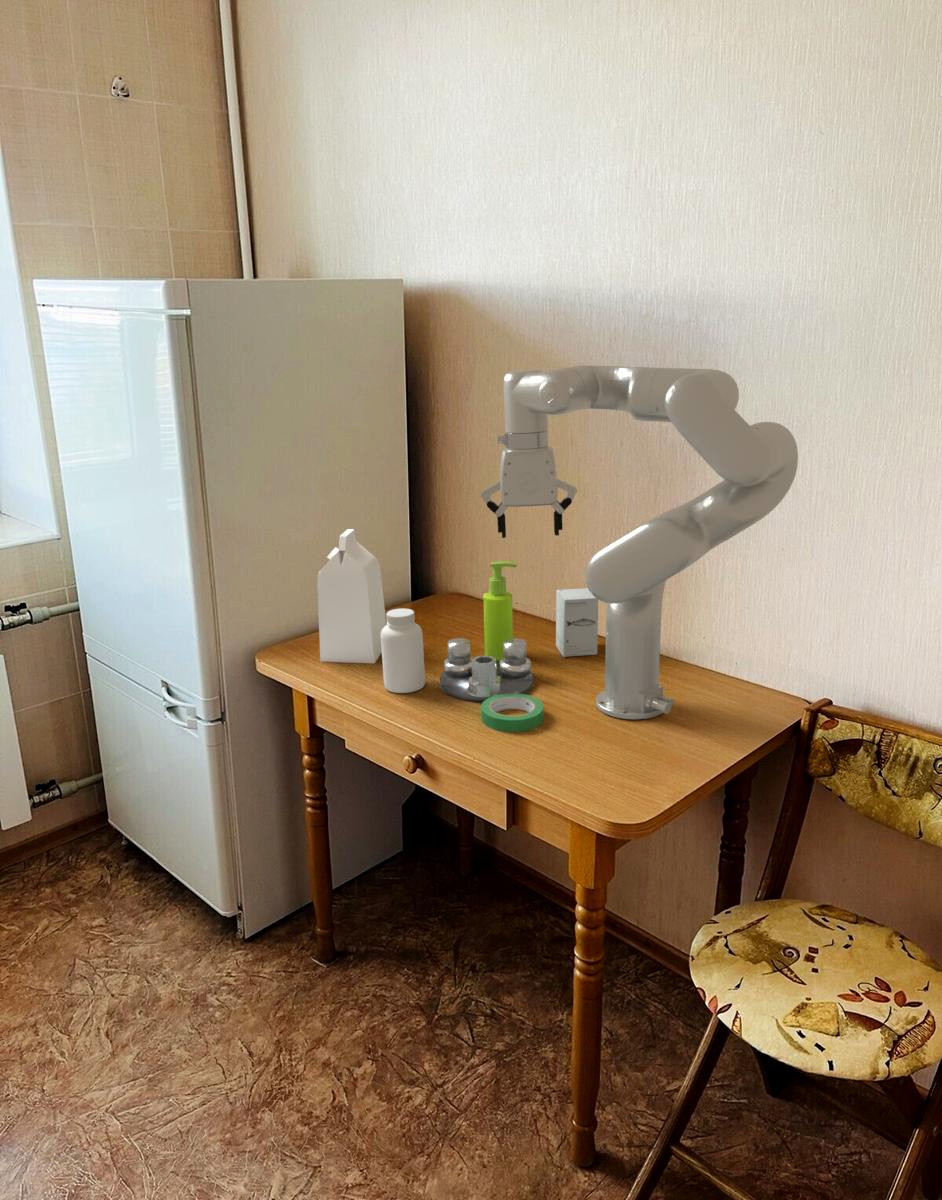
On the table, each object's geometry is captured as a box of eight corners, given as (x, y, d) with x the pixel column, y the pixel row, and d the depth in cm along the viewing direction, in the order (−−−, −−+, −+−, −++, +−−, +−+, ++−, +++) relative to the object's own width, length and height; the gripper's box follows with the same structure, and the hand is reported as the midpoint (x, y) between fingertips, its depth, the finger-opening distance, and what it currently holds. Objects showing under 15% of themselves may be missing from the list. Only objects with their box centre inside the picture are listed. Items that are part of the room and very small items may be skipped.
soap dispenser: (518, 659, 195) (517, 566, 189) (484, 660, 195) (482, 566, 189) (517, 649, 201) (516, 558, 194) (484, 650, 201) (482, 558, 195)
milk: (374, 663, 195) (366, 540, 187) (320, 661, 197) (310, 539, 189) (388, 642, 207) (381, 525, 199) (337, 641, 208) (328, 525, 200)
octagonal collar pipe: (499, 696, 175) (498, 666, 173) (467, 696, 175) (467, 665, 173) (501, 684, 180) (500, 654, 178) (470, 683, 181) (469, 654, 179)
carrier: (552, 683, 183) (552, 648, 181) (481, 710, 172) (480, 673, 170) (490, 658, 196) (489, 625, 194) (420, 682, 185) (419, 647, 183)
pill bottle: (399, 675, 189) (395, 603, 184) (433, 682, 185) (430, 609, 180) (375, 689, 182) (370, 615, 178) (410, 697, 178) (406, 622, 174)
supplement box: (563, 658, 195) (563, 599, 191) (555, 645, 202) (555, 588, 198) (598, 655, 196) (599, 597, 192) (589, 643, 203) (590, 586, 199)
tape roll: (549, 730, 164) (549, 716, 164) (486, 735, 163) (486, 721, 162) (536, 704, 175) (536, 690, 174) (477, 709, 173) (476, 695, 173)
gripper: (477, 446, 166) (482, 542, 171) (577, 441, 165) (579, 537, 170) (478, 440, 173) (483, 532, 178) (574, 436, 172) (576, 528, 177)
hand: (530, 535), depth 174 cm, fingers open, 9 cm apart
